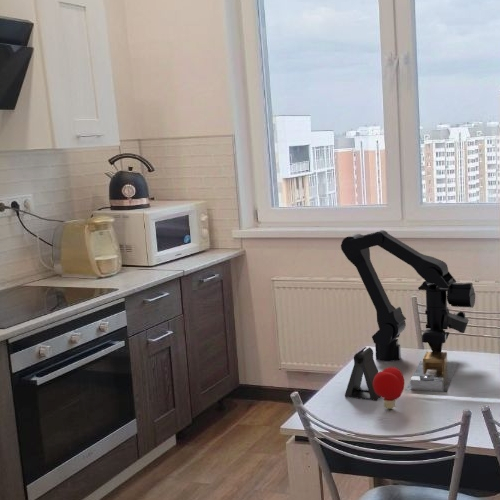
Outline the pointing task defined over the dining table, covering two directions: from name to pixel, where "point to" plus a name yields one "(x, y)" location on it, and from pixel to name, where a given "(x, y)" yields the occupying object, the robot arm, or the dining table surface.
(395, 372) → the table tennis paddles
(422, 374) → the grey stepped plate
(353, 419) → the dining table surface
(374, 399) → the dark grey a-frame stand
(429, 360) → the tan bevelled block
